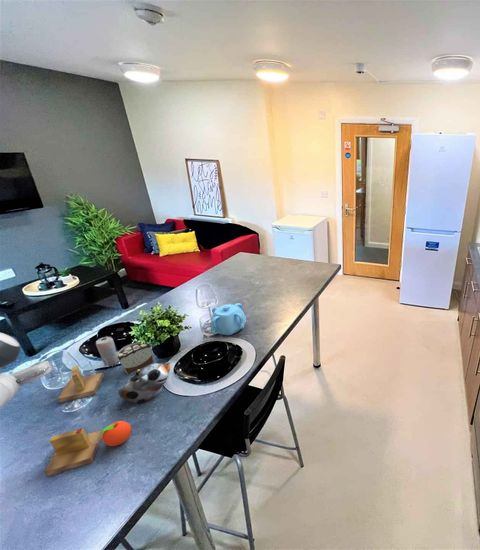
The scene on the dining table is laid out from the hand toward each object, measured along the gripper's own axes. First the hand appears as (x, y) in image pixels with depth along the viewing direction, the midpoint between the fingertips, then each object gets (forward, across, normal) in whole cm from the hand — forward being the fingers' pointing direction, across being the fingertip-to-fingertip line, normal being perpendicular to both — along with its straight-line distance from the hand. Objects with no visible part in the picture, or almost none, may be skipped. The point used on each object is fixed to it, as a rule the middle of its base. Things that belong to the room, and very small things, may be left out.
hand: (10, 378), depth 89 cm
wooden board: (-14, -7, +27) cm, 31 cm away
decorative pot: (+22, -66, +20) cm, 72 cm away
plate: (+16, -10, +16) cm, 24 cm away
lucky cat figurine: (+1, -28, +24) cm, 37 cm away
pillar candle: (+26, -20, +13) cm, 35 cm away
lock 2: (+15, -10, +14) cm, 23 cm away
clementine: (-16, -16, +30) cm, 38 cm away
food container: (+18, -27, +17) cm, 37 cm away
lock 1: (-14, -7, +25) cm, 30 cm away
